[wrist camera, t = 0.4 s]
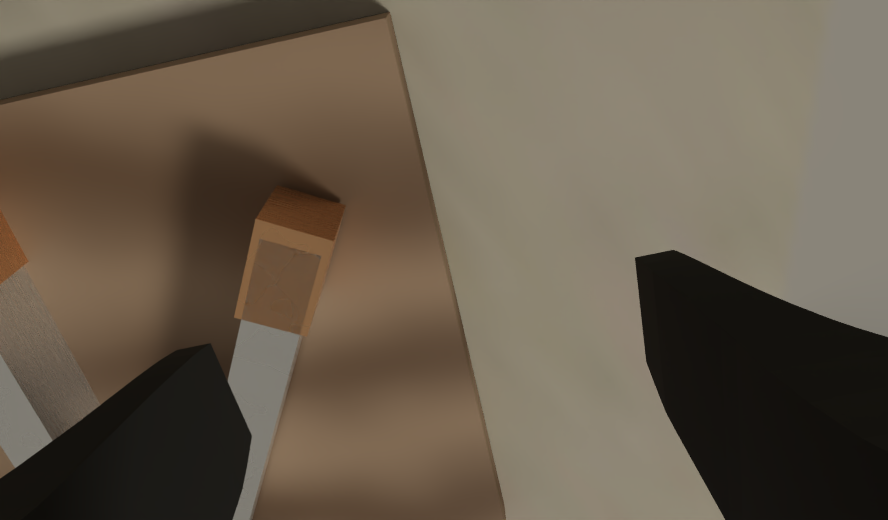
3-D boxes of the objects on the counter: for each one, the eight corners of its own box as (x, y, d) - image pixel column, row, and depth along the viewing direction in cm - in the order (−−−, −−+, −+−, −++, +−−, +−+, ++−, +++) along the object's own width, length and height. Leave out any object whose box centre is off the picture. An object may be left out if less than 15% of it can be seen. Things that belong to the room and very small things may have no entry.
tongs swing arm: (256, 522, 25) (238, 581, 22) (202, 510, 24) (178, 569, 22) (345, 205, 19) (333, 241, 17) (277, 185, 19) (255, 219, 17)
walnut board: (504, 505, 27) (507, 535, 25) (-46, 593, 29) (-70, 626, 27) (389, 11, 18) (386, 17, 17) (-372, 183, 20) (-429, 201, 19)
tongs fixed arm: (246, 570, 26) (216, 673, 22) (152, 585, 26) (107, 688, 23) (40, 154, 18) (-55, 207, 15) (-87, 182, 19) (-211, 240, 15)
